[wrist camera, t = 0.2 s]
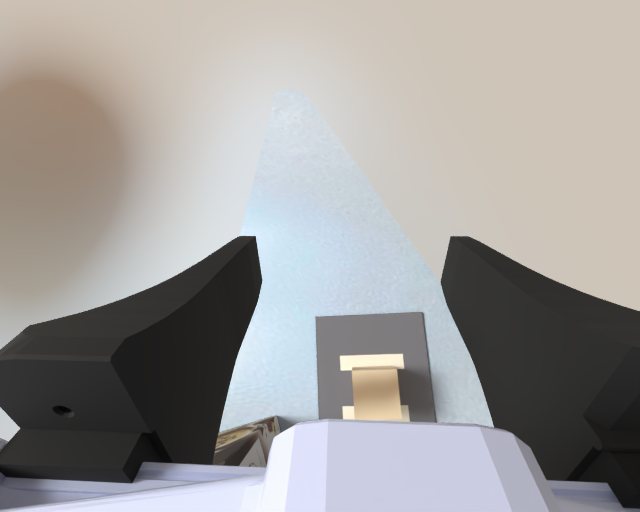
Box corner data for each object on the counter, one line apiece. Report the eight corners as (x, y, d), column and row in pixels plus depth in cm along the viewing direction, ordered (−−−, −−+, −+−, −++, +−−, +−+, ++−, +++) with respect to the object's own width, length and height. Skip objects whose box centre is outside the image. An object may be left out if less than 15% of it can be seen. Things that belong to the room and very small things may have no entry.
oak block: (395, 409, 38) (401, 419, 33) (354, 409, 38) (354, 419, 33) (391, 365, 39) (396, 369, 34) (352, 366, 40) (351, 370, 35)
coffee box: (276, 412, 39) (225, 459, 24) (289, 468, 38) (243, 559, 22) (209, 433, 40) (115, 493, 24) (218, 490, 38) (124, 595, 22)
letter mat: (440, 469, 36) (441, 470, 36) (320, 469, 37) (320, 470, 37) (421, 312, 41) (421, 312, 40) (315, 316, 42) (315, 316, 42)
